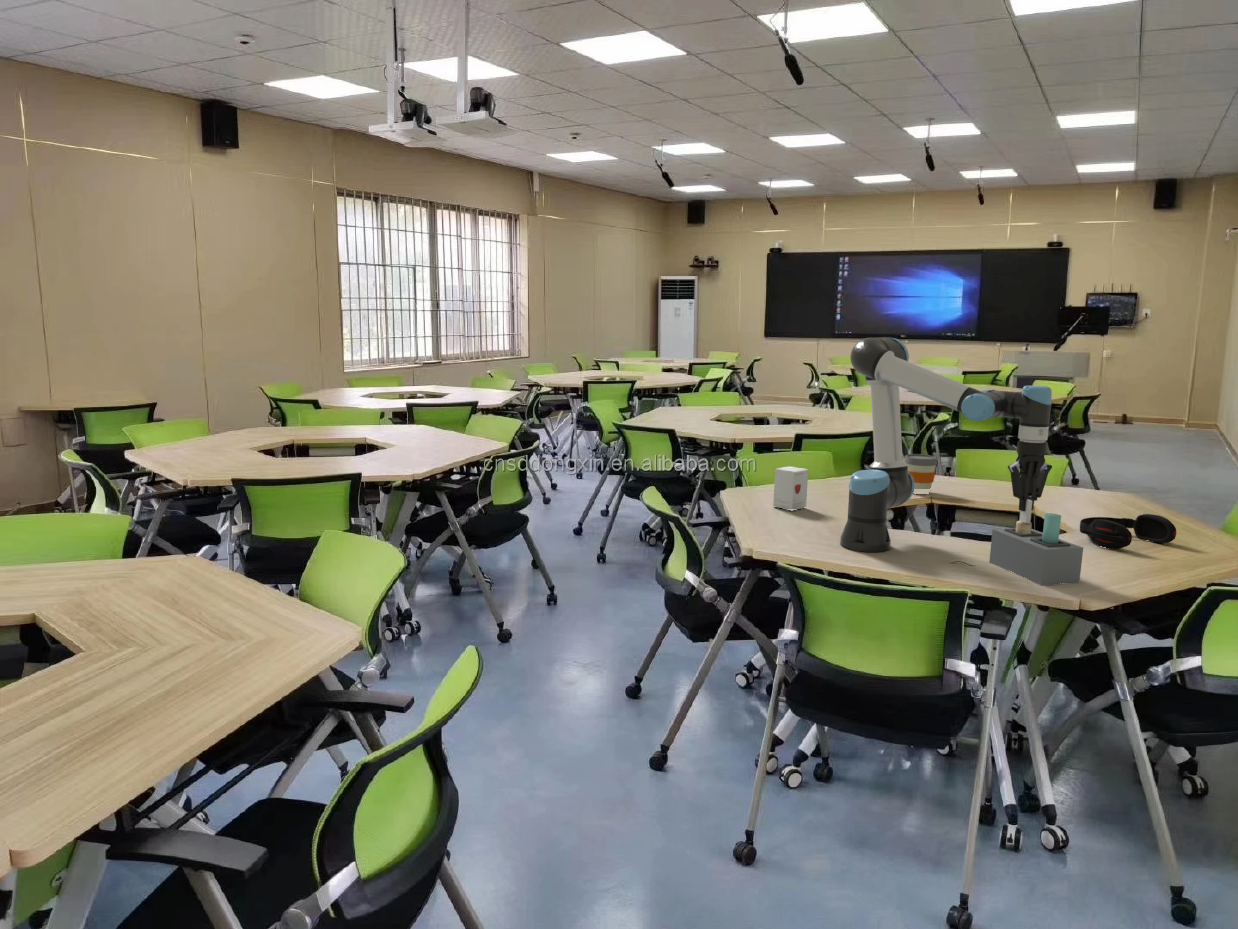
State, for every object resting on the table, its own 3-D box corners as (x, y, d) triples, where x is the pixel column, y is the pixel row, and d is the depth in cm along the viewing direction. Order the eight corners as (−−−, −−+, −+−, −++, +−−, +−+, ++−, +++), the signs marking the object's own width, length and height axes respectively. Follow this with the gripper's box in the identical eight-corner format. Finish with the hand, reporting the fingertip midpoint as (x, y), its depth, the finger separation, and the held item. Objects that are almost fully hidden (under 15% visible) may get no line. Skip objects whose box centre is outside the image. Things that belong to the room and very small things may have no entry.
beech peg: (1010, 552, 247) (1013, 521, 245) (1022, 552, 248) (1025, 520, 246) (1019, 556, 243) (1022, 524, 241) (1031, 556, 244) (1034, 524, 242)
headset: (1163, 561, 254) (1166, 533, 253) (1067, 544, 271) (1070, 518, 270) (1178, 543, 275) (1182, 517, 274) (1088, 528, 292) (1091, 504, 291)
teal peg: (1038, 546, 236) (1041, 513, 234) (1050, 546, 236) (1054, 513, 235) (1048, 550, 232) (1051, 517, 230) (1060, 550, 233) (1064, 516, 231)
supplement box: (791, 512, 310) (794, 471, 307) (772, 507, 316) (774, 468, 314) (807, 508, 316) (809, 469, 313) (787, 504, 322) (789, 465, 320)
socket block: (989, 562, 250) (992, 527, 248) (1024, 560, 253) (1028, 525, 251) (1041, 585, 229) (1045, 547, 227) (1079, 583, 232) (1083, 545, 230)
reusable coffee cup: (896, 489, 353) (899, 454, 350) (925, 489, 354) (928, 454, 351) (910, 496, 340) (913, 459, 338) (940, 495, 342) (943, 459, 339)
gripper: (1021, 443, 235) (1013, 526, 239) (1062, 442, 237) (1053, 524, 241) (1003, 439, 242) (996, 519, 246) (1043, 438, 245) (1035, 517, 249)
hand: (1024, 521), depth 244 cm, fingers closed
